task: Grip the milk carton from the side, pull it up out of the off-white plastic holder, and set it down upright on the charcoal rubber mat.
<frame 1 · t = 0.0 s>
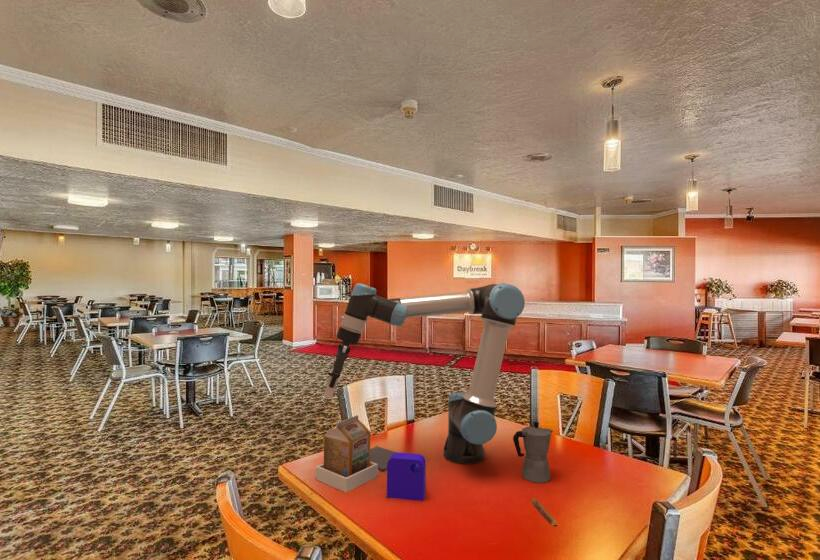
hand: (328, 391, 136), 28 cm above the table, tool tilted 20°, fingers open, 13 cm apart
coffeepot: (533, 478, 138), on the table
rubber mat: (379, 459, 152), on the table
wooden stick: (543, 516, 115), on the table
milk carton: (346, 478, 136), resting in carton holder
carton holder: (346, 477, 136), on the table
bracket: (409, 486, 132), on the table
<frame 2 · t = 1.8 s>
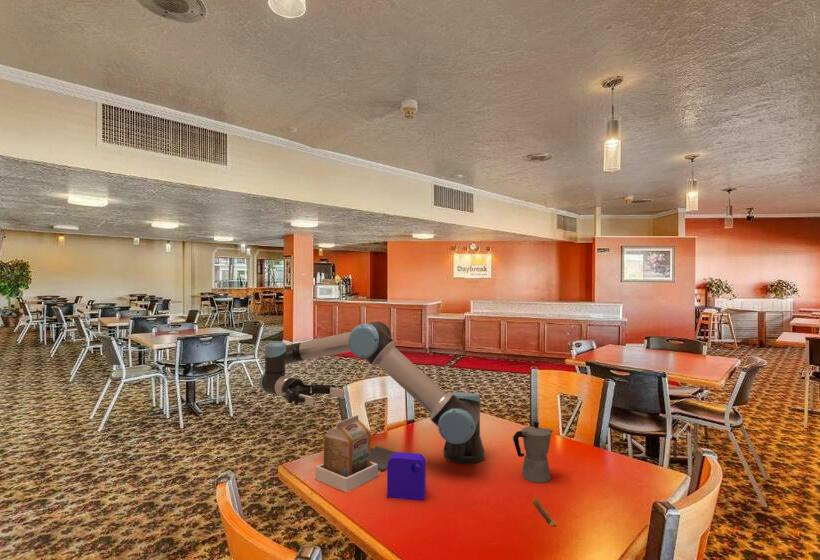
hand: (328, 397, 143), 24 cm above the table, tool horizontal, fingers open, 13 cm apart
nothing on the table moved.
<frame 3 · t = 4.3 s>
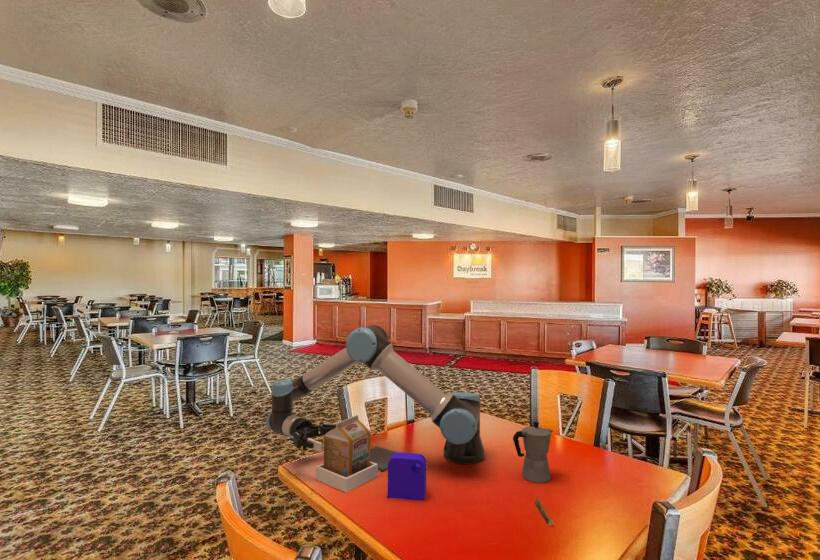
hand: (337, 441, 139), 11 cm above the table, tool horizontal, fingers open, 13 cm apart
nothing on the table moved.
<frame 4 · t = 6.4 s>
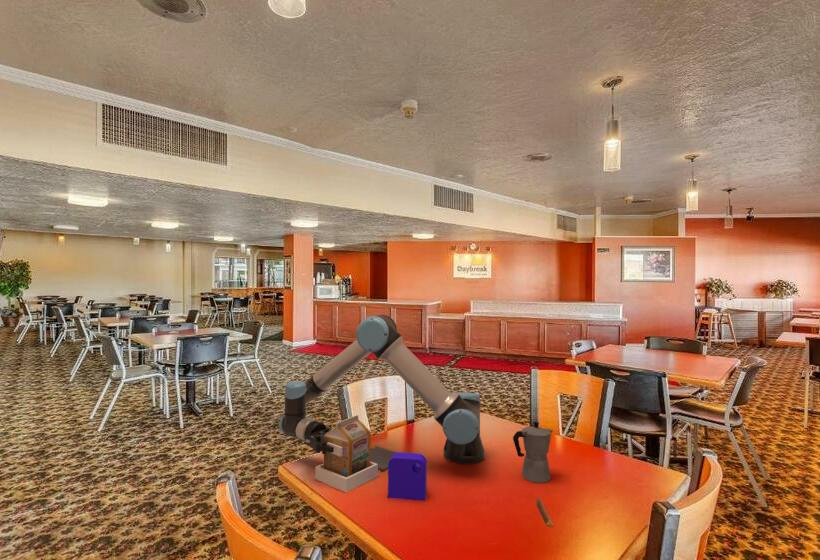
hand: (355, 446, 134), 11 cm above the table, tool horizontal, fingers closed on milk carton, 11 cm apart
milk carton: (346, 478, 136), resting in carton holder, touching gripper
everything else where it was.
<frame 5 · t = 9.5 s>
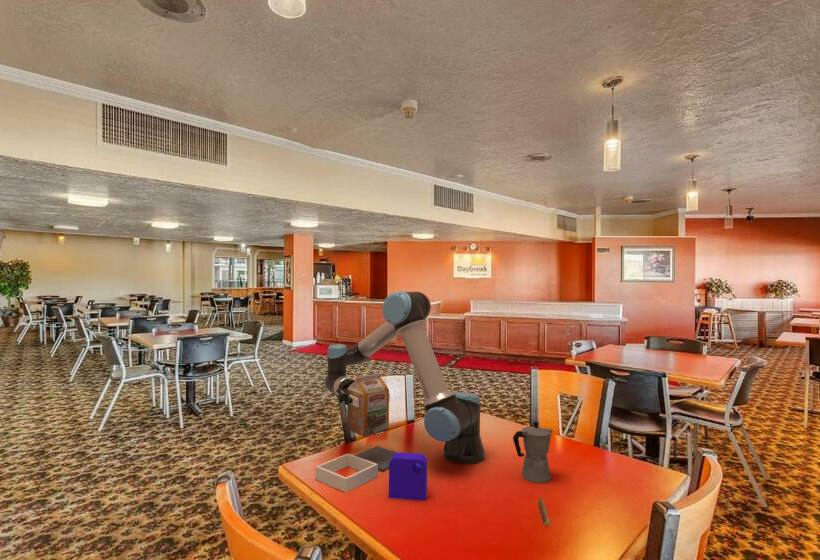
hand: (373, 400, 145), 23 cm above the table, tool horizontal, fingers closed on milk carton, 11 cm apart
milk carton: (367, 430, 148), point 12 cm above the table, touching gripper
when the fingers open (13 cm above the table, at t = 12.9 s): milk carton drops 2 cm, resting on rubber mat.
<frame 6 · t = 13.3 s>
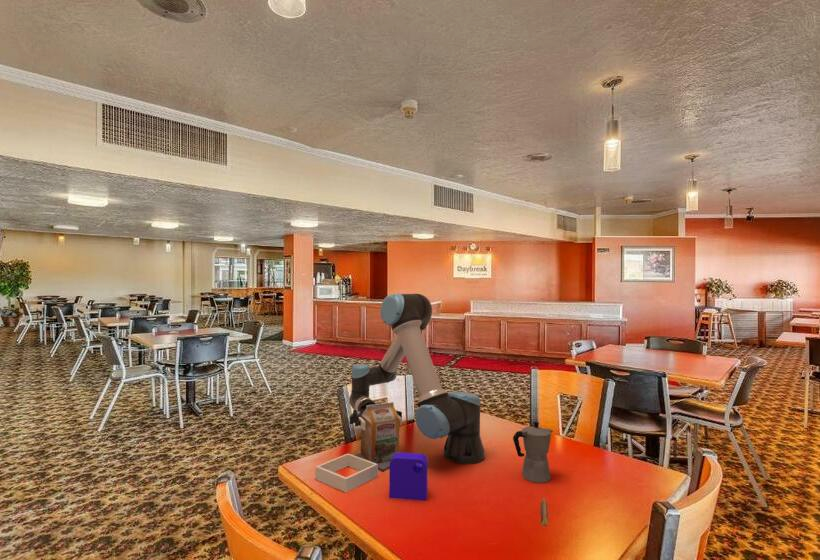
hand: (382, 424, 149), 13 cm above the table, tool horizontal, fingers open, 13 cm apart
milk carton: (379, 457, 152), point 1 cm above the table, touching rubber mat
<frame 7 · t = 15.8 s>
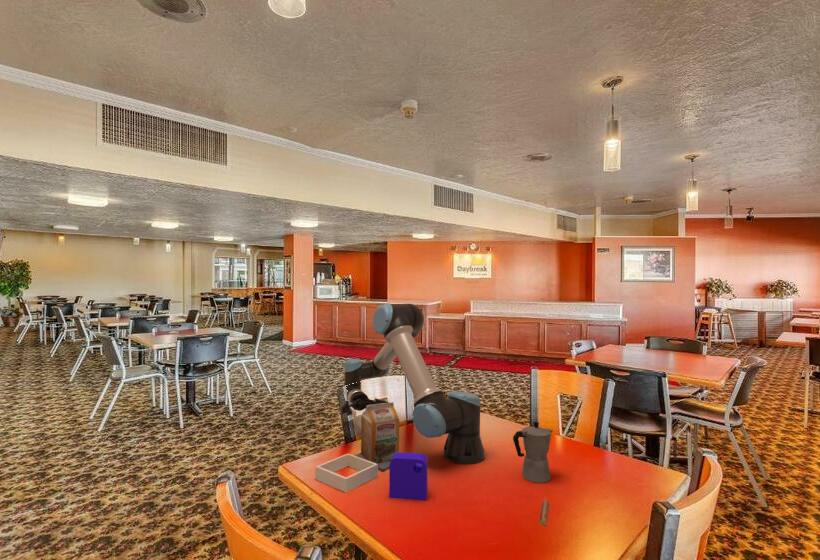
hand: (372, 413, 161), 14 cm above the table, tool horizontal, fingers open, 13 cm apart
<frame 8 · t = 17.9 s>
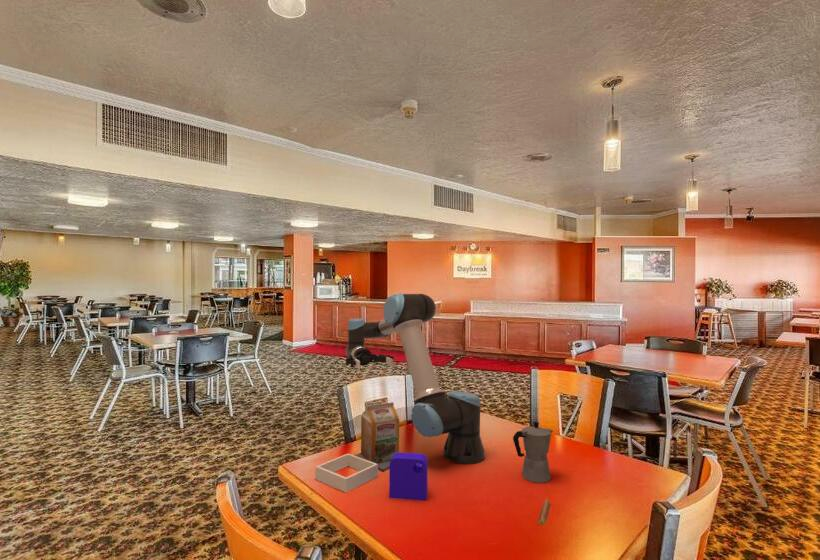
hand: (375, 363, 165), 32 cm above the table, tool horizontal, fingers open, 13 cm apart
at the end: milk carton inside the target area on the rubber mat (0.1 cm from its centre), point 0.6 cm above the rubber mat's base; milk carton tilted 0°; the gripper is holding nothing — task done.
